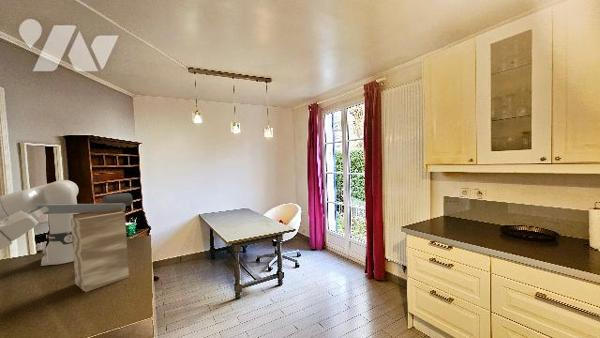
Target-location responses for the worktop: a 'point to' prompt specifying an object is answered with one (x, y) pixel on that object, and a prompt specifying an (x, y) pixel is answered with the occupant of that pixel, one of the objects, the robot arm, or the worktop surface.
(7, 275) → the worktop surface
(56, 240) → the robot arm
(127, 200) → the rubber mallet
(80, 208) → the grey bar
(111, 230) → the tan streaked block
